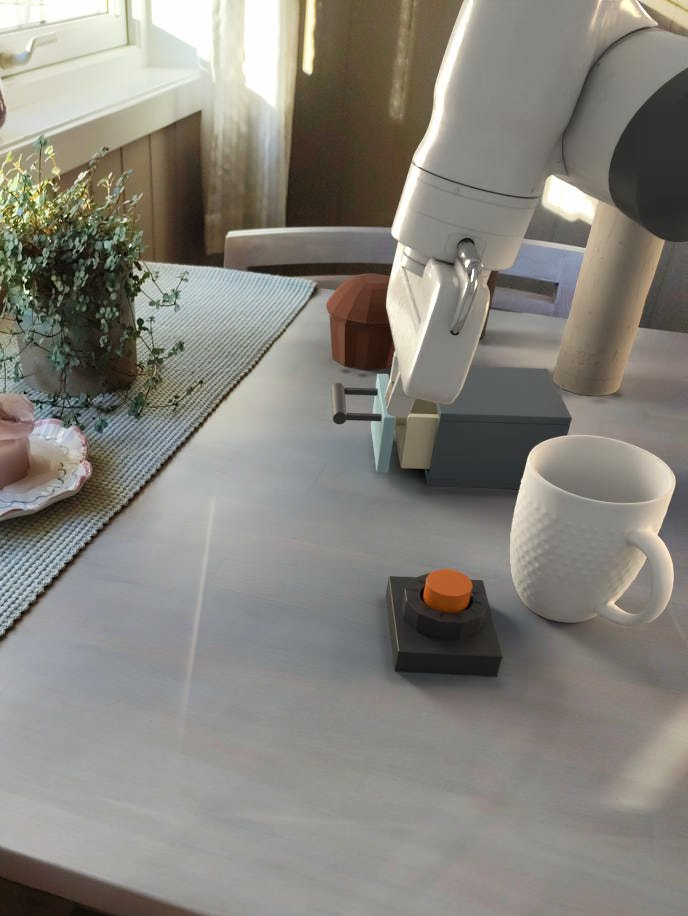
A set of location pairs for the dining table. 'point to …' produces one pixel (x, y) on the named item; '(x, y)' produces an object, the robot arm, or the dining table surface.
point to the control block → (441, 632)
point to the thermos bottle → (607, 303)
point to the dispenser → (495, 427)
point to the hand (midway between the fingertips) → (395, 409)
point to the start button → (447, 591)
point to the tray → (392, 426)
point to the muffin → (361, 323)
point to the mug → (590, 529)
